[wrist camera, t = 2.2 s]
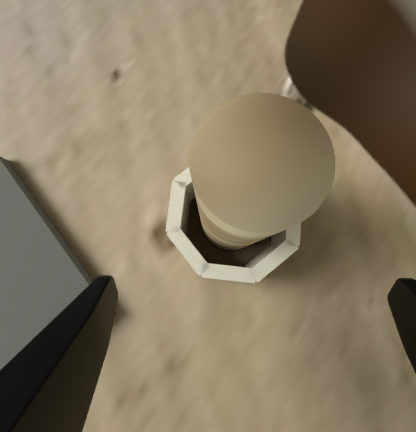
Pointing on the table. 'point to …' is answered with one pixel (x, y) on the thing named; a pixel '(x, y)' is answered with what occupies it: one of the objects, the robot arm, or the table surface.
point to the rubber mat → (31, 267)
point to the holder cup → (250, 273)
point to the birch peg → (258, 168)
